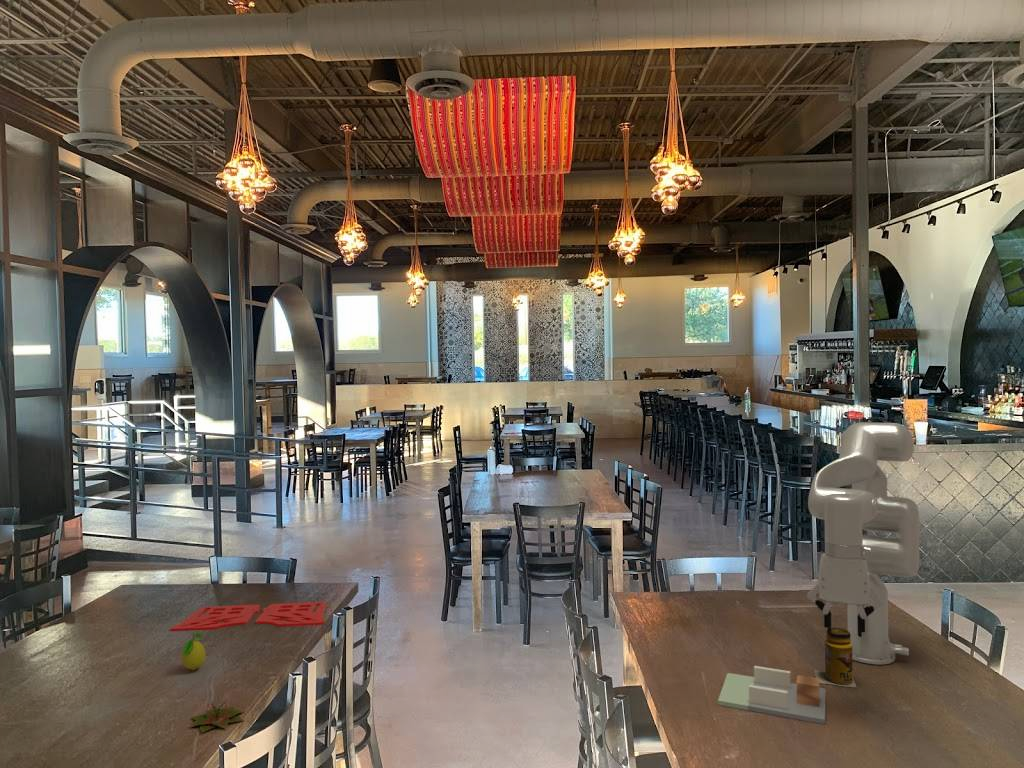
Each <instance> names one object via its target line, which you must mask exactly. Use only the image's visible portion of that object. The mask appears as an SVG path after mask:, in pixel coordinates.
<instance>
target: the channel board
mask: <svg viewBox="0 0 1024 768" xmlns="http://www.w3.org/2000/svg"><path fill="white" fill-rule="evenodd" d="M826 692H827V689H826V688H823V687H819V707H817V706H812V705H806V704H800V703H797V683H792V682H791V670H785V669H784V670H783V669H777V668H771V667H764V666H758V665H754V667H753V676H751V675H744V674H736V673H733V672H732V673H730V672H727V673H726V676H725V680H724V681H723V685H722V688H721V691H720V693H719V696H718V699H717V706H723V707H727V708H732V709H733V708H734V709H737V710H743V711H750V712H755V713H760V714H761V713H762V714H765V715H766V714H767V715H772V716H777V717H782V718H788V719H794V720H798V721H799V720H800V721H804V722H805V721H806V722H810V723H817V724H822V725H826Z"/></svg>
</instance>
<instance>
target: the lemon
mask: <svg viewBox="0 0 1024 768" xmlns="http://www.w3.org/2000/svg"><path fill="white" fill-rule="evenodd" d="M195 637H196V638H198V639H199V640H203V639H204V637H203V634H202V632H201V631H198V632H196V633H195V631H193V632H192V639H191V640H188V641H187V642H186V643H185V645H184V648H183V650H182V654H181V661H182V664H183V666H184V668H186V669H189V670H191V671H192V672H194V671H195V670H196V669H198V668H200V667H201V666H202V665H204V663H205V660H206V649H205V647H204V645H203V643H201V641H198V640H195Z"/></svg>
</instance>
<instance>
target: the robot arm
mask: <svg viewBox="0 0 1024 768" xmlns="http://www.w3.org/2000/svg"><path fill="white" fill-rule="evenodd" d="M914 451H915V440H914V438H913V434H912V433H911V431H910V430H909V429H908V427H906V426H905V425H904V424H901V423H897V422H874V421H873V422H868V421H867V422H866V421H864V422H862V421H861V422H854V423H852V424H851V425H849V426H848V427H847V428H846V429H845V430H844V431H843V432H842V433H841V436H840V453H839V456H838V458H836V459H835V460H833V461H831V462H830V463H828V464H826V465H825V466H823V467H822V468H821V469H819V470H818V471H817V472H816V474H815V475H814V476H813V478H812V479H813V480H812V481H811V485H810V490H809V493H808V499H807V507H808V511H809V513H810V515H811V516H813V517H814V518H816V519H819V520H823V521H824V552H823V553H821V556H820V561H819V570H818V582H817V584H816V585H814V587H813V588H811V589H810V590H809V591H808V592H806V593H807V595H806V596H807V598H808V599H809V600H810V601H811V602H812V603H814V604H815V606H816V607H817V608H818V609H819V610H820V611H821V612H822V614H823V625H824V626H823V627H824V628H827V630H828V633H831V628H832V612H831V607H832V604H833V603H836V604H843V605H847V631H849V632H850V635H851V636H850V639H851V641H850V642H851V644H852V660H853V661H856V662H859V663H863V664H867V665H888V664H892V663H894V662H895V661H896V654H897V655H901V656H910V649H909V647H905V646H903V644H898V643H896V644H895V643H893V642H890V637H889V593H888V589H887V587H886V585H885V583H884V582H883V580H882V579H881V578H880V577H879V575H884V576H891V577H898V578H899V577H900V578H913V577H916V575H917V574H918V572H919V568H920V526H921V525H920V524H921V523H920V511H919V508H918V504H917V503H916V502H915V501H914V500H913V499H910V498H908V497H901V496H900V497H899V496H889V495H888V478H887V475H886V474H885V472H884V471H883V470H882V468H880V466H879V465H878V461H882V462H902V463H905V462H907V461H910V460H911V459H912V457H913V454H914ZM850 485H851V488H845V487H847V486H850ZM842 487H844V488H842ZM863 531H869V532H878V533H887V534H895V535H897V536H898V537H899V538H896V537H895V538H893V537H884V536H883V537H882V536H875V535H867V534H863ZM817 594H818V595H819V597H818V596H817ZM823 601H824V602H823Z"/></svg>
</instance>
